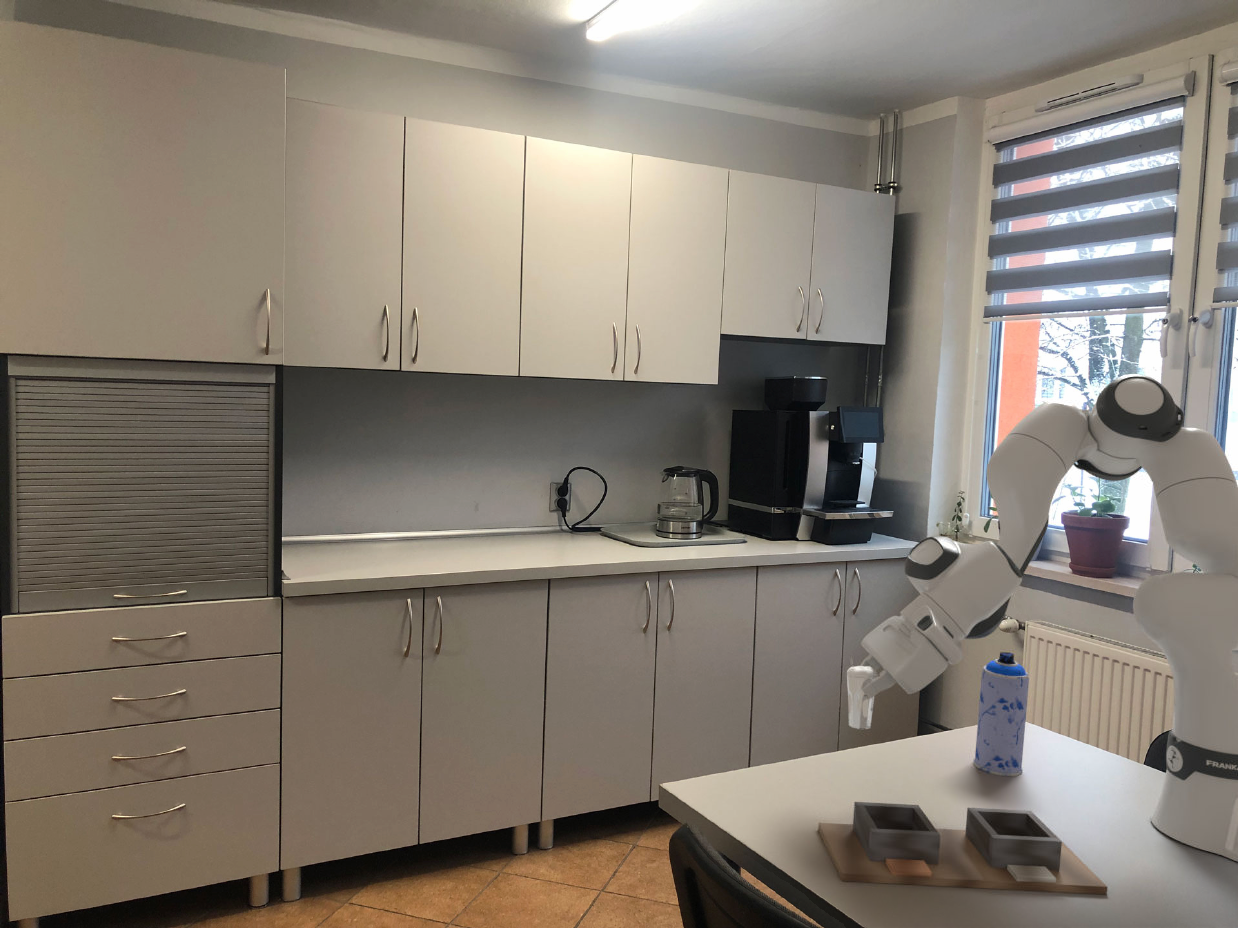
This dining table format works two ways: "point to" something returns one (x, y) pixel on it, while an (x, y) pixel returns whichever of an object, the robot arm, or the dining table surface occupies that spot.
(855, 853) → the port board
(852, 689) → the milkshake
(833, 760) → the dining table surface
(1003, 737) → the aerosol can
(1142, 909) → the dining table surface
